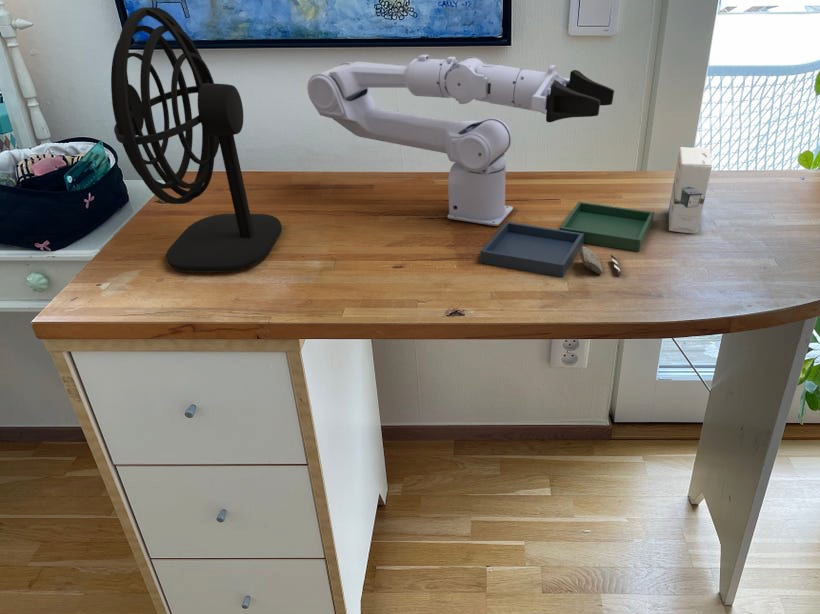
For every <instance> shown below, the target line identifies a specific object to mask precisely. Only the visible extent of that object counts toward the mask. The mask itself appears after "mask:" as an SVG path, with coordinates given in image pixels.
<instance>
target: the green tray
mask: <svg viewBox="0 0 820 614" xmlns="http://www.w3.org/2000/svg"><path fill="white" fill-rule="evenodd" d="M654 216H655V212H654V211H647V210H640V209H635V208H628V207H627V208H626V207H620V206H612V205H604V204H600V203H599V204H598V203H592V202H584V201H578V202H576V204H575V205H574V207H573V208H572V210H571V211H570V213H569V214H568V215H567V217H566V218H565V220H564V221H563V222H562V223H561V225H560V226H559V229H558V230H564V231H570V232H577V233H583V234H584V240H583V244H589V245H595V246H601V247H608V248H613V249H621V250H626V251H632V252H639V253H640V251H641V249H642V246H643V244H644V242H645V240H646V239H647V236H648V234H649V231H650V229H651V227H652V225H653V223H654Z"/></svg>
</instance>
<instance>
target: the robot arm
mask: <svg viewBox="0 0 820 614" xmlns="http://www.w3.org/2000/svg"><path fill="white" fill-rule="evenodd" d="M557 69H558V66H557V65H556V64H551V65H549V66H548V70H547V72H546V71H539V70H534V69H528V68H527V69H526V68H521V67H514V66H507V65H500V64H491V63H486V61H484V60H483V59H482V58H479V57H475V56H473V55H468V56H466V57H465V58H463V59H462V60H461V61H459V60H457V57H456V56H449V57H447V58H446V59H442V58H441V59H438V58H430V55H429V54H420V55H419V56H417V58H414V59H413V60H411V62H409V64H408V65H399V64H397V65H396V64H388V63H378V62H368V61H354V62H349V61H347V62H343V63H341V64H339V65H337V66H336V67H333V68H330V69H328V70H325V71H322V72H316V73H314V74H313V75H312V76H311V77H310V78H309V79H308V81H307V87H306V88H307V89H306V90H307V95H308V98H309V100H310V102H311V103H312V105H313V106H314V108H315V109H316V111H317V112H318V114H319V116H322V117H324V118H328V119H332V120H333V121H334V122H336V123H338V124H339V125H340V126H342V128H345V129H346V130H347V131H349V132H350V133H352V134H353V135H354V136H356V137H359V138H363V139H369V140H374V141H378V142H385V143H390V144H395V145H401V146H406V147H411V148H416V149H421V150H427V151H431V152H436V153H442V154H446V156H447V158H448V160H449V161H450V162H451V163H452V162H453V164H452V165H451V167H450V170H449V173H448V177H447V179H448V180H447V191H448V192H447V193H448V196H447V197H448V214H447V219H449V220H454V221H460V222H461V221H462V222H467V223H473V224H479V225H487V226H494V227H499V226H500V224H502V223H503V222H504V220H505V219H506V218H507V217H508V216H509V215H510V213H511V212H513V210H514V207H513V206H509V205H506V177H507V176H506V175H507V174H506V171H507V170H506V165H507V164H506V157H505V154H506V152H508V150H509V149H510V147H511V145H512V133H511V129H510V127H508V124H506V123H505V122H504V121H503V120H501V119H499V118H496V117H489V118H486V119H483V120H474V119H472V120H471V119H470V120H462V121H451V120H446V119H441V118H433V117H429V116H423V115H417V114H411V113H406V112H400V111H394V110H388V109H383V108H377V107H376V105H375V101H374V98H373V95H372V93H371V90H370V88H371V89H373V88H375V89H377V88H380V89H381V88H383V89H385V88H387V89H389V88H390V89H391V88H397V89H399V88H401V89H402V88H403V89H404V88H405V89H408V91H409V92H410V94H411V95H413V96H414V97H425V98H440V99H441V98H443V99H451V98H452V99H455V101H457V102H458V104H459V105H465V104H469V103H471V102H472V101H474V100H475V101H478V102H479V101H480V102H484V103H489V104H492V105H497V106H498V105H499V106H505V107H510V108H514V109H515V108H516V109H521V110H527V111H532V112H539V113H541V114H543V115H545V121H546V122H547V123H554V122H557V121H560V120H565V119H571V118H590V117H591V118H592V117H598V116H599V114H600V108H601V106H611V105H613V102H614V97H615V89H613V88H610V87H608V86H606V85H604V84H601V83H599V82H596V81H594V80H592V79H591V78H589V77H587V76H586V75H584V74H583V73H582V72H581V71H580V70H577V69H573V70H571V71H570V74H569V78H568V77H563V76H561V75H560V74H559V73H558V72H557Z"/></svg>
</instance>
